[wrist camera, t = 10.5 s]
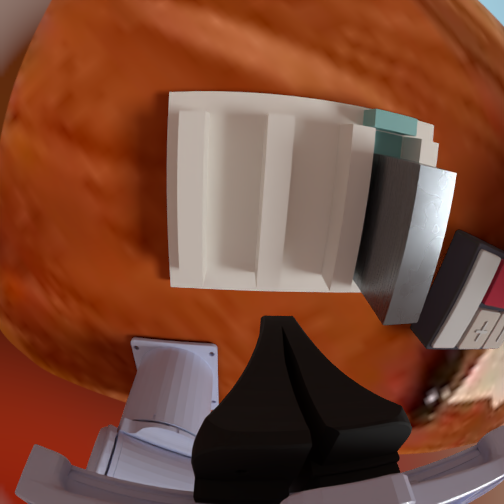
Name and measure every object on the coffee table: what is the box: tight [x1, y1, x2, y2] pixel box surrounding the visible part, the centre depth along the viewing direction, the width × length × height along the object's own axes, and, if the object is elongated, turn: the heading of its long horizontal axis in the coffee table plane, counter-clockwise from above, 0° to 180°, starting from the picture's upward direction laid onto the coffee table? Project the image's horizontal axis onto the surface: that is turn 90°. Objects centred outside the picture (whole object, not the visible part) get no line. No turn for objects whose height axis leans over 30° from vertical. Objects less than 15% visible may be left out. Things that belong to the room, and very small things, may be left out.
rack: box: [167, 91, 439, 292], centre depth 19 cm, size 14×19×4 cm
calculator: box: [410, 230, 504, 349], centre depth 24 cm, size 11×4×15 cm
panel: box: [353, 153, 457, 325], centre depth 17 cm, size 9×2×7 cm, turn 177°
